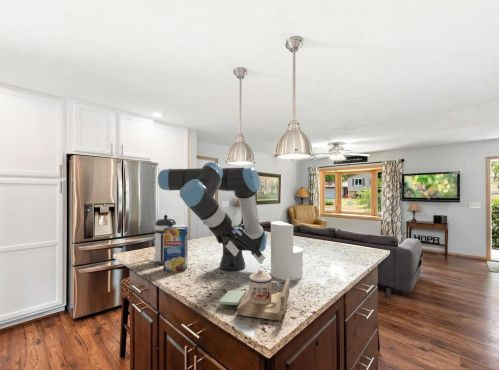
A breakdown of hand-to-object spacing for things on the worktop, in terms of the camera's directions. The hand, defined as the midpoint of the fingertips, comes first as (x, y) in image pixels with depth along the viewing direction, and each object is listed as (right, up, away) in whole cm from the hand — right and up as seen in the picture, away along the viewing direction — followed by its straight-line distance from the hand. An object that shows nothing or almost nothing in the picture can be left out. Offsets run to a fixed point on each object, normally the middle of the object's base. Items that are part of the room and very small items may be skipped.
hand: (249, 256), depth 92 cm
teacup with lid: (+6, -19, +5) cm, 20 cm away
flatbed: (+6, -21, +5) cm, 23 cm away
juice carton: (-42, -22, +52) cm, 71 cm away
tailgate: (-2, -18, +7) cm, 20 cm away
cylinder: (+20, -22, +44) cm, 53 cm away
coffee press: (-55, -23, +67) cm, 89 cm away
